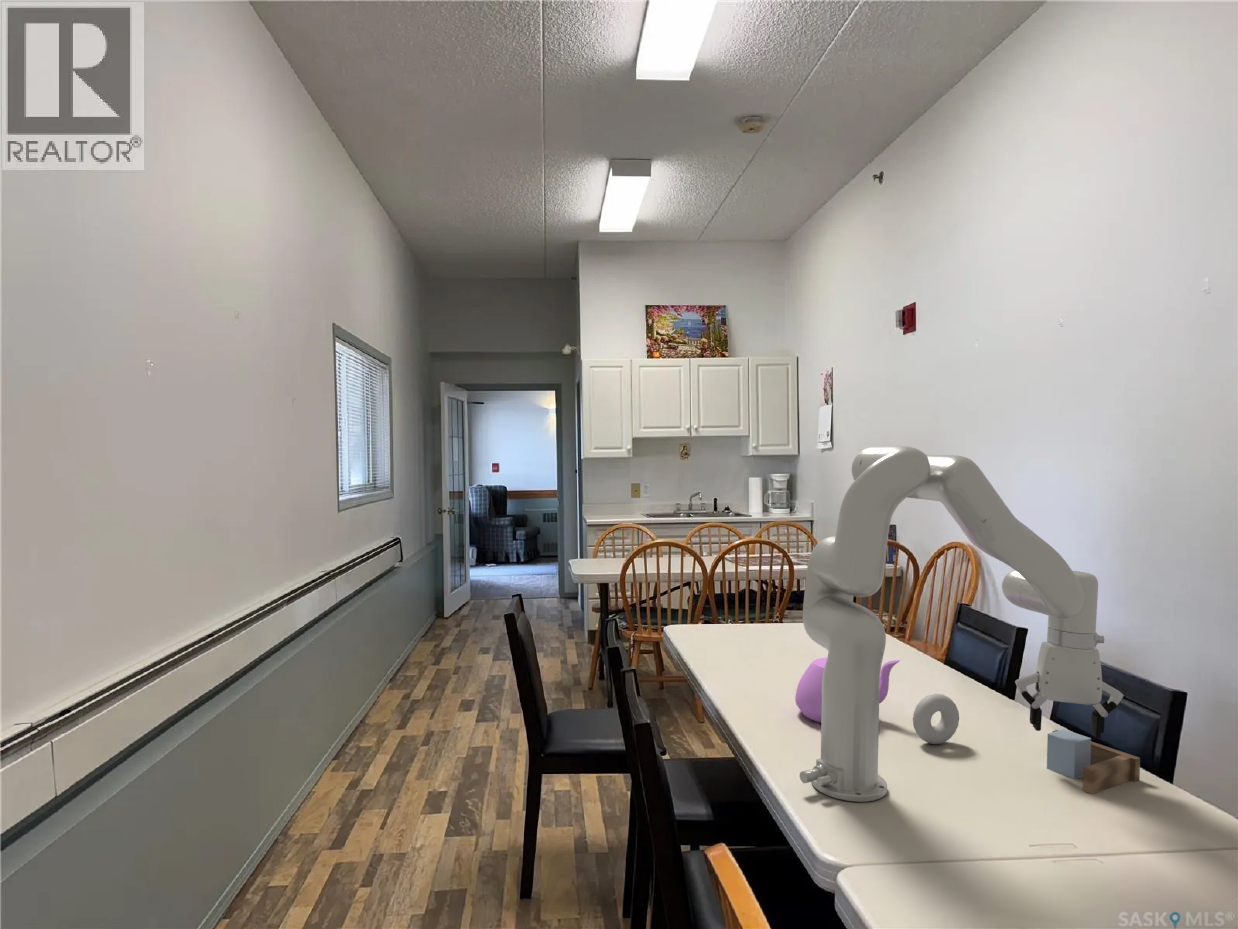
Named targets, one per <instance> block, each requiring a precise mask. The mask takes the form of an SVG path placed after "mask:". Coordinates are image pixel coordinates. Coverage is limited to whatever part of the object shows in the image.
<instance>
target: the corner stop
mask: <svg viewBox="0 0 1238 929" xmlns="http://www.w3.org/2000/svg"><path fill="white" fill-rule="evenodd" d="M1056 731H1059V730H1058V729H1055V730H1052V732H1056ZM1052 732H1051V733H1052ZM1140 771H1141V757H1139V756H1136V755H1132V754H1131V753H1127V752H1124V751H1121V750H1118V749H1115V748H1112V747H1108V746H1105V745H1103V744H1100V743H1097V742H1094V741H1091V759H1090V766H1087V767H1084V770H1083V776H1082V791H1083V792H1086V793H1088V794H1089V795H1090V794H1091V795H1093V794H1097V793H1099V792H1102V791H1104V790H1107V789H1110V788H1113V787H1115V786H1117V785H1121V784H1123V783H1127V782H1129V781H1132V782H1137V781H1140V777H1141V776H1140V773H1141V772H1140Z"/></svg>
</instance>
